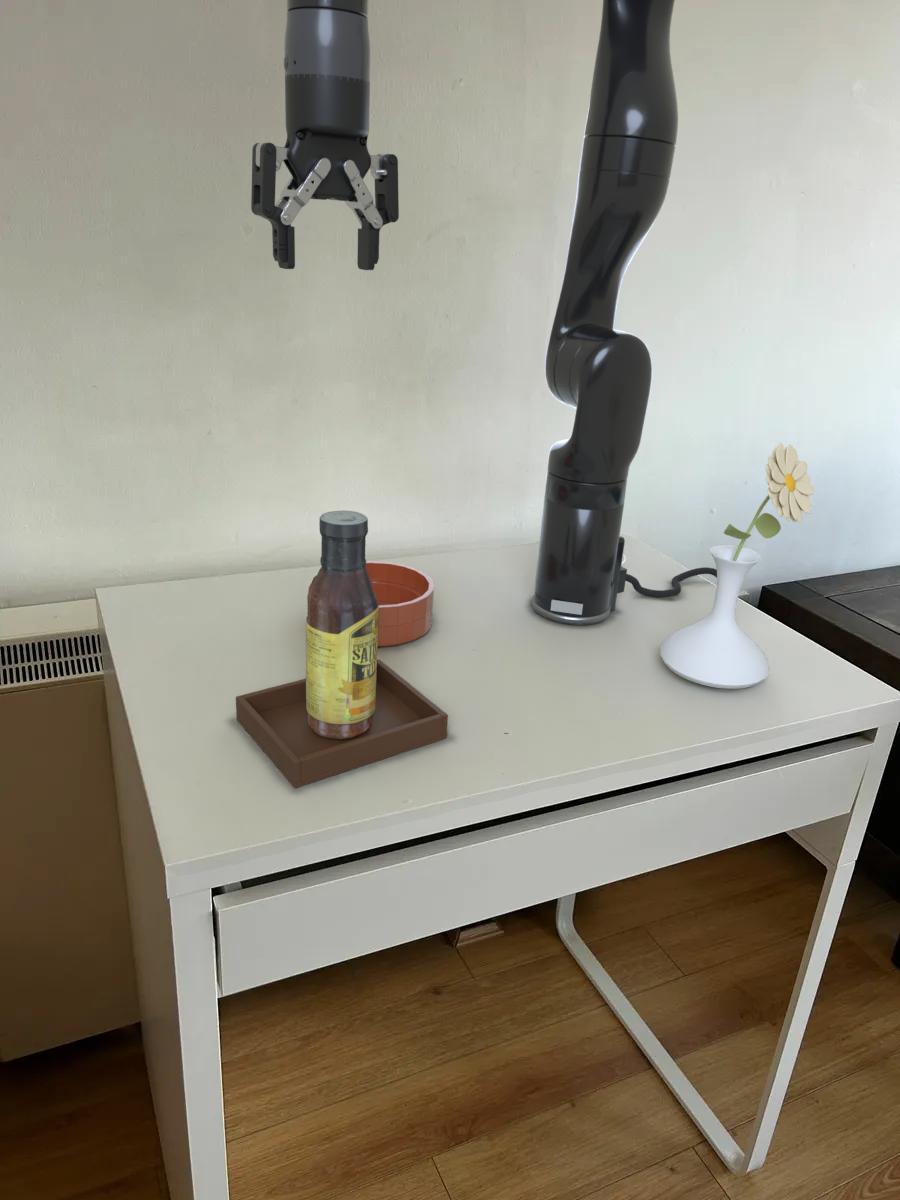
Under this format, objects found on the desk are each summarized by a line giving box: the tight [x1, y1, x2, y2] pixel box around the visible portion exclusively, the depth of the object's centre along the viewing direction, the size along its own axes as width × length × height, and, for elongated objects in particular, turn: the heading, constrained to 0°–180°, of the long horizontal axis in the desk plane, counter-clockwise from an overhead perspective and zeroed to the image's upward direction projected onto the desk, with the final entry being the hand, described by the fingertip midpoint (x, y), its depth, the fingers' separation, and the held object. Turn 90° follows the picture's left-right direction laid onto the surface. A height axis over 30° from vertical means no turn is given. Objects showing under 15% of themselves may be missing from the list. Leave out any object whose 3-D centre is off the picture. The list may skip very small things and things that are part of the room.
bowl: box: [366, 560, 435, 648], centre depth 102 cm, size 13×13×5 cm
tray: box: [235, 659, 449, 789], centre depth 82 cm, size 15×12×2 cm
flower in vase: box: [659, 442, 815, 690], centre depth 92 cm, size 13×11×25 cm
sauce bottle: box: [305, 510, 378, 740], centre depth 78 cm, size 6×6×20 cm
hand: (327, 269), depth 87 cm, fingers open, 8 cm apart
